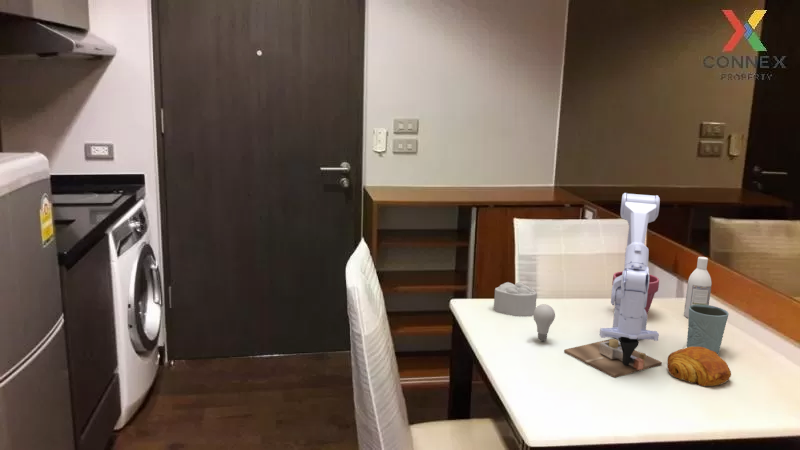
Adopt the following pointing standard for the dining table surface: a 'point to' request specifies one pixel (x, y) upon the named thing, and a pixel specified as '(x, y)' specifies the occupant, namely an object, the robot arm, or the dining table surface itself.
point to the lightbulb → (543, 320)
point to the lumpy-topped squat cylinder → (515, 299)
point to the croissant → (698, 366)
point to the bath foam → (698, 286)
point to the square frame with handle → (619, 355)
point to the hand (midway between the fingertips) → (625, 364)
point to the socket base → (607, 365)
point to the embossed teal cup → (706, 326)
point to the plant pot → (651, 290)
